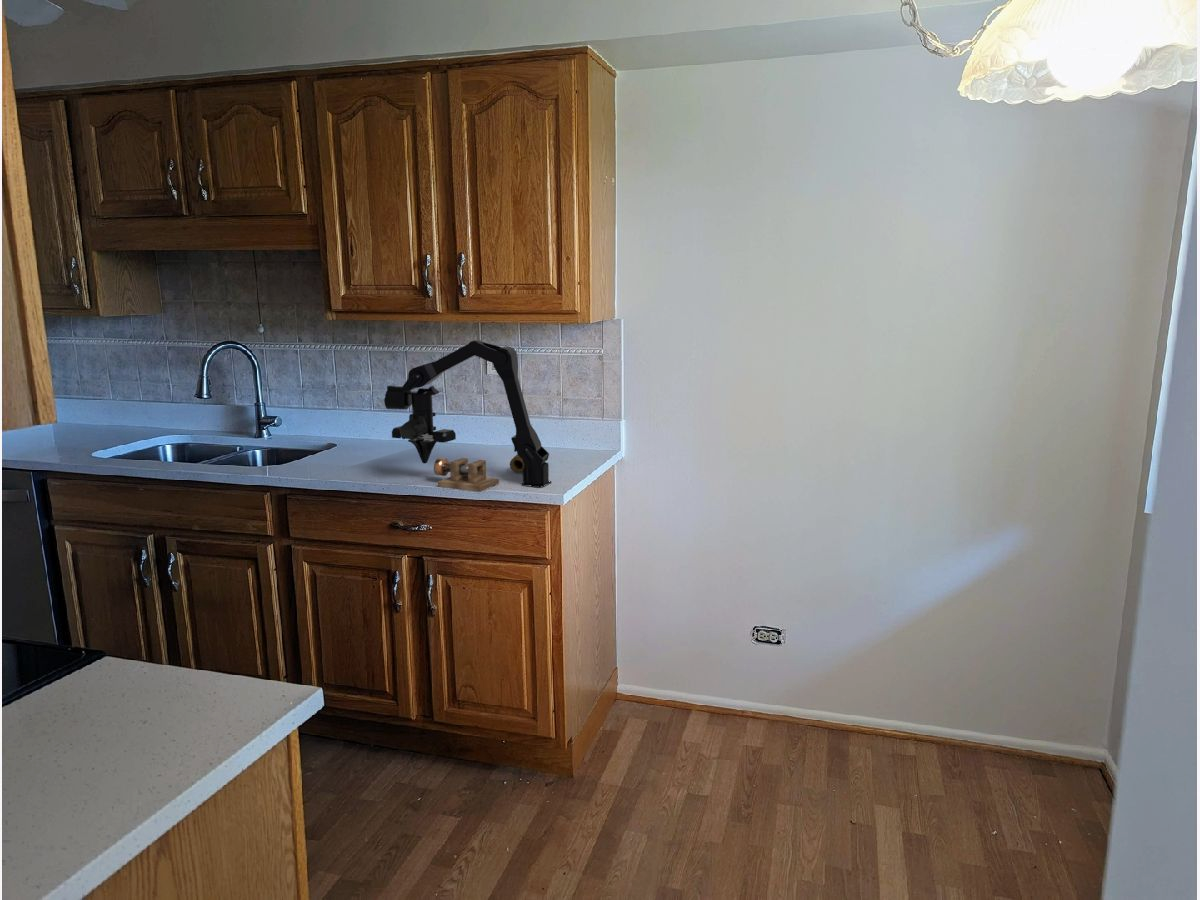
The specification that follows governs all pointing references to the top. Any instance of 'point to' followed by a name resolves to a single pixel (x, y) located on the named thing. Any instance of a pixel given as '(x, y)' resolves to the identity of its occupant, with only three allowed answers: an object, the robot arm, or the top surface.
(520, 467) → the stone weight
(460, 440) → the top surface
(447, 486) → the bearing stand
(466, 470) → the shaft
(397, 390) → the robot arm
